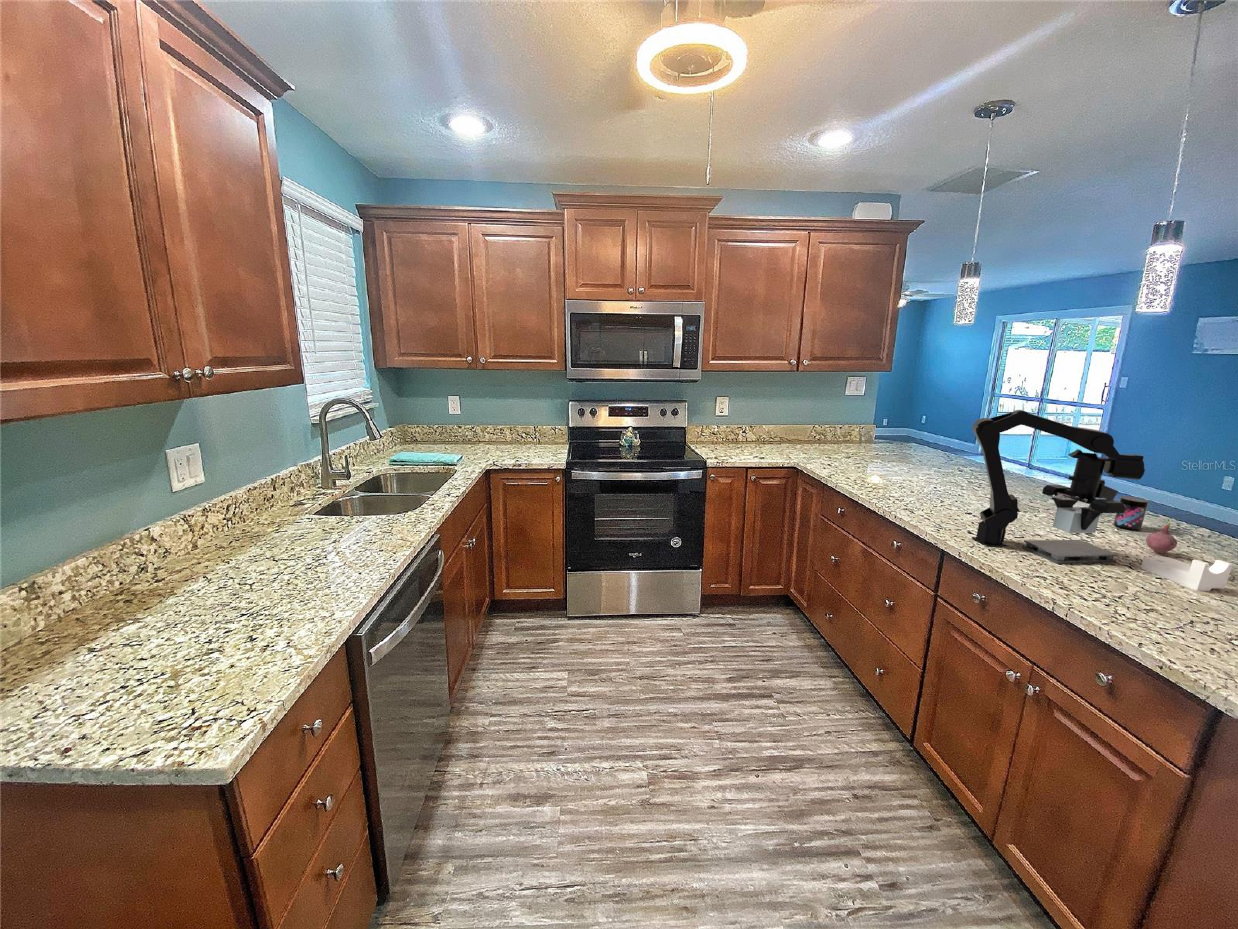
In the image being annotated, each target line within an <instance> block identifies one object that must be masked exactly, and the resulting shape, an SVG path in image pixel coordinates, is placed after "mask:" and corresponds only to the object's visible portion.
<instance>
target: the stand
mask: <svg viewBox="0 0 1238 929" xmlns="http://www.w3.org/2000/svg"><path fill="white" fill-rule="evenodd" d="M1023 542H1024V543H1026V544H1025V545H1022V548H1021V549H1024V550H1026V551H1028V552H1030V553H1033V554H1035V555H1037V556H1038V557H1041V558H1043V559H1046V560H1048V561H1050V562H1052V563H1054V564H1056V565H1059V564H1061V565H1062V564H1064V565H1065V564H1106V563H1107V564H1111V563H1112V564H1114V563H1117V559H1114V557H1118V555H1119V554H1118V553H1115V552H1112V551H1110V550H1107V549H1105V548H1102V547H1099V546H1096V545H1094V544H1092V543H1089V542H1086V541H1083V540H1081V539H1044V540H1043V539H1037V540H1036V539H1034V540H1033V539H1032V540H1031V539H1030V540H1029V539H1028V540H1023Z"/></svg>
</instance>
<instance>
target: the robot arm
mask: <svg viewBox="0 0 1238 929" xmlns="http://www.w3.org/2000/svg"><path fill="white" fill-rule="evenodd" d="M1021 425H1022V426H1025V427H1028V428H1031V429H1034V430H1037V431H1041V432H1044V433H1047V434H1050V435H1053V436H1056V437H1060V438H1062V439H1065V440H1068V441H1070V442H1071V443H1073V444H1075V445H1078V446H1080V447H1081V448H1083V449H1086V450H1087V451H1089V452H1085V451H1084V452H1083V451H1082V450H1081V449H1079V448H1077V449H1075V450H1074V451H1072V452H1070V453H1068V454H1067V456H1069V457H1070V458H1072V459H1077V460H1076V463H1075V467H1074V470H1073V474H1072V475H1068V480H1070V481H1071V483H1070V487H1068V486H1065V485H1063V484H1046V485H1045V486H1044V487H1043V488H1042V492H1041V494H1042V495H1046V496H1048V497H1051V498H1050V499H1051V500H1052V501H1053V502H1054V504H1055V506H1056V509H1057V508H1069V507H1074V506H1075V505H1076V504H1077V503H1078V501H1079V502H1081V503H1085V504H1088V506H1087V507H1086V506H1085V507H1082V510H1081V530H1086V529H1087V528H1088V527H1089V526H1090V525H1091V523H1092V522H1093V521H1094V520H1095V519H1096V518H1097V517H1098V516H1099V515H1102V514H1116V513H1124V511H1125V508H1126V507H1125V505H1124V503H1122V502H1119V500H1114V499H1115V497H1116V496H1117V494H1119V491H1118V490H1116V489H1114V488H1111V487H1109V486H1107V485H1105V484H1106V480H1105V479H1102V477H1103V472H1104V473H1105V474H1107V475H1108V477H1110V478H1117V479H1127V480H1134V481H1135V480H1137V481H1139V480H1141V479H1142V478H1143V476H1144V475H1145V470H1146V469H1145V462H1144V458H1145V457H1144V455H1141V454H1135V453H1134V454H1125V453H1119V451H1118V450H1117V449H1116V447H1115V446H1114V444H1115V440H1114V438H1113V436H1112V435H1111V434H1109V433H1107V432H1104V431H1100V430H1098V429H1093V428H1086V427H1079V426H1072V425H1067V424H1065V423H1061V422H1058V421H1056V420H1055V421H1054V420H1051V419H1048V418H1046V417H1042V416H1039V415H1036V414H1032V413H1030V412H1027V411H1025V410H1023V409H1015V410H1013V411H1012V412H1008V413H1004V414H1000V415H996V416H993V417H990V418H989V417H982V418H978V419H977V420H976V421H974V422H973V424H972V431H973V434H974V436H975V438H976V440H977V442H978V444H979V446H980V448H981V451H982V454H983V461H984V464H985V465H984V466H985V469H986V475H987V478H988V483H989V489H990V497H989V507H987V508H985V509H983V510H982V511H980V512H979V514H980V519H981V521H979V522H978V527H977V532H976V536H971V539H972V540H974V541H976V542H978V543H979V544H982V545H983V546H987V547H1006V546H1008V545H1007V544H1006V543H1005V542H1004V541H1005V537H1006V531H1007V527H1008V526H1009V524H1011V523H1013V522H1015V521H1016V520H1018V515H1019V514H1018V513H1021V511H1020V509H1019V505H1018V503H1019V501H1018V498H1017V497H1015V495H1014V494H1012V493H1011V494H1009V491H1008V487H1007V482H1006V478H1005V473H1004V472H1005V471H1004V469H1003V468H1004V467H1003V464H1002V459H1001V454H1000V449H999V448H1000V447H999V446H1000V440H1001V433H1004V432H1006V431H1009V430H1012V429H1013V428H1016V427H1019V426H1021ZM1097 454H1099V455H1103V456H1104V457H1101V456H1098V455H1097ZM1052 496H1054V497H1052ZM1099 517H1100V516H1099Z"/></svg>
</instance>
